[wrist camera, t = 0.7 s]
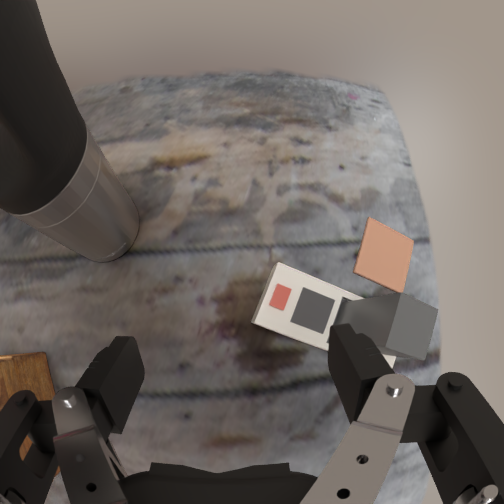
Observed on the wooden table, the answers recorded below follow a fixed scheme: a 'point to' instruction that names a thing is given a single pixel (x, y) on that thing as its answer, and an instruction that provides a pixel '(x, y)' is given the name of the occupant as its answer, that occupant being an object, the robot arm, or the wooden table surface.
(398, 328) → the block
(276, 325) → the power strip
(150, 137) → the wooden table surface
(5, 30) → the robot arm
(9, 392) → the wooden box
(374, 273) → the tile coaster
